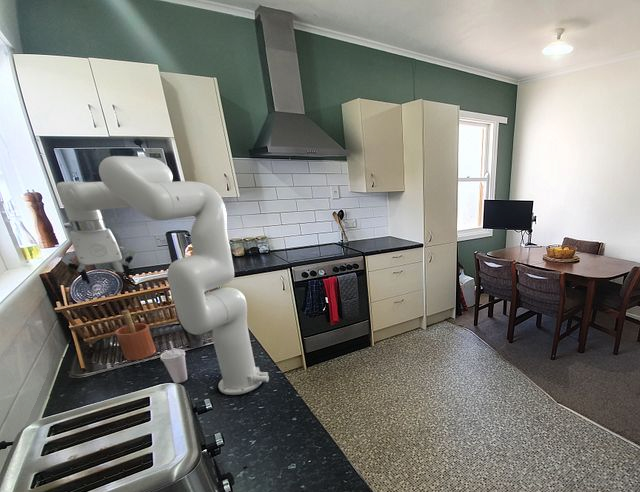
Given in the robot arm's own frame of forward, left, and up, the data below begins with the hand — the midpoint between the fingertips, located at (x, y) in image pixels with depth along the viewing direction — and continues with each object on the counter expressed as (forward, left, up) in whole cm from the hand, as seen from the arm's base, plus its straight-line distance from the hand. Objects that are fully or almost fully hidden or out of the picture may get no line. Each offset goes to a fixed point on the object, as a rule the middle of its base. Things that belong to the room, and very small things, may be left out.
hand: (108, 279), depth 111 cm
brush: (-1, -1, -27) cm, 27 cm away
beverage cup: (-16, -9, -28) cm, 34 cm away
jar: (-1, -1, -28) cm, 28 cm away
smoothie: (-25, +14, -28) cm, 40 cm away
